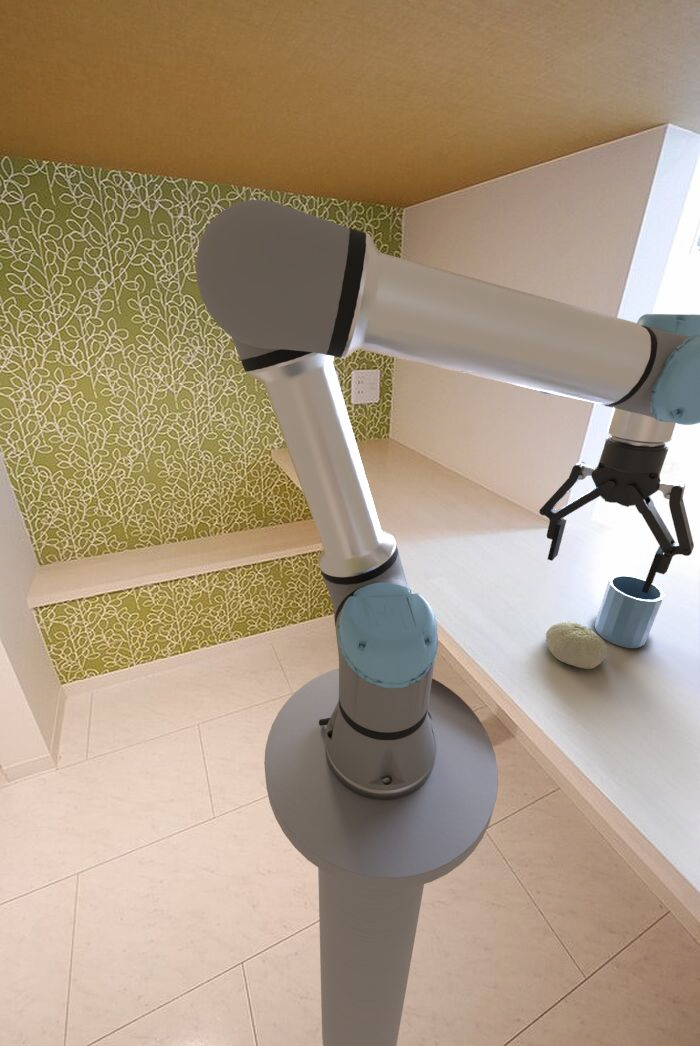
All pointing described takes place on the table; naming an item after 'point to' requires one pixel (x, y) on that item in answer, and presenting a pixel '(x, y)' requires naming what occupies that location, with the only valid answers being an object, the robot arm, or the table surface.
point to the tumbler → (628, 611)
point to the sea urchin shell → (575, 645)
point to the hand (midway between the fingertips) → (596, 572)
